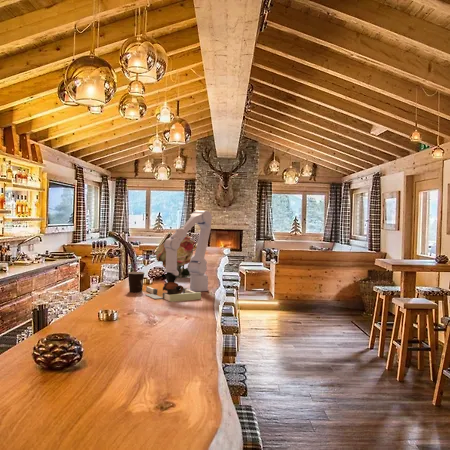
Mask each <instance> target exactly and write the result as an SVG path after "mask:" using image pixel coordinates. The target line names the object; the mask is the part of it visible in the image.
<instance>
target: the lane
mask: <svg viewBox="0 0 450 450" xmlns="http://www.w3.org/2000/svg"><path fill="white" fill-rule="evenodd" d="M175 288H176V287H175ZM183 288H184V290H183V292H182V293H181V294H172V295H168V294H167V292H162V296H160V295H158V288H153V287H152V286H146V287H145V291H146V292H147V293H146V294H145V296H146V297H148V298H150V299H152V300H163V299H164V300H166V301H168V302H171V303H172V302H183V301H193V300H194V301H195V300H201V299H202V291H198V292H193V291H190V290H188V289H189V288H187V287H183Z"/></svg>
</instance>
